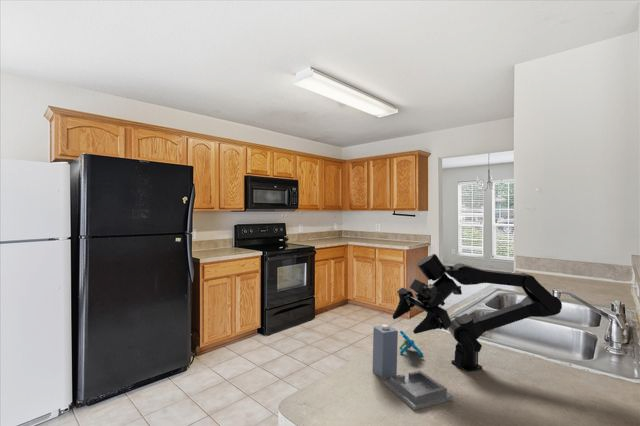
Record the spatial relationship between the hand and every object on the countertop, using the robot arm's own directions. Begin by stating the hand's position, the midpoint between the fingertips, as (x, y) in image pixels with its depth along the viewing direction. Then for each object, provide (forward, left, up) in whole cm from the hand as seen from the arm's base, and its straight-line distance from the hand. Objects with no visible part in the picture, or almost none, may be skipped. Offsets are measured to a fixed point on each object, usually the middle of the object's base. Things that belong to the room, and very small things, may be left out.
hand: (403, 325), depth 94 cm
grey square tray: (+3, +11, -14) cm, 18 cm away
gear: (-10, -9, -14) cm, 19 cm away
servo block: (+6, -1, -14) cm, 15 cm away
